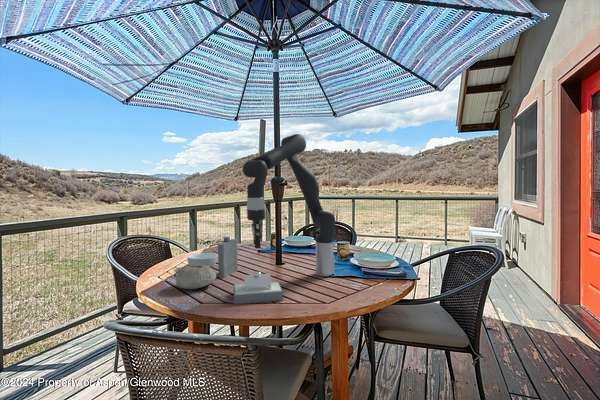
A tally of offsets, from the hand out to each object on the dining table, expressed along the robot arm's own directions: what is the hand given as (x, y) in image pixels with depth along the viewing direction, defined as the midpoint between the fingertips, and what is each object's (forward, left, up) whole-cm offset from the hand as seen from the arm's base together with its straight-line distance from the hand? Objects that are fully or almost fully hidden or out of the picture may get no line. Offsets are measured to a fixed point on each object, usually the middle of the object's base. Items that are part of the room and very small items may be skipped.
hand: (256, 246), depth 140 cm
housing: (0, 0, -18) cm, 18 cm away
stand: (0, 0, -22) cm, 22 cm away
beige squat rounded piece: (+27, -20, -22) cm, 40 cm away
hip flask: (+13, -38, -22) cm, 46 cm away
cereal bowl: (+27, -55, -22) cm, 65 cm away
